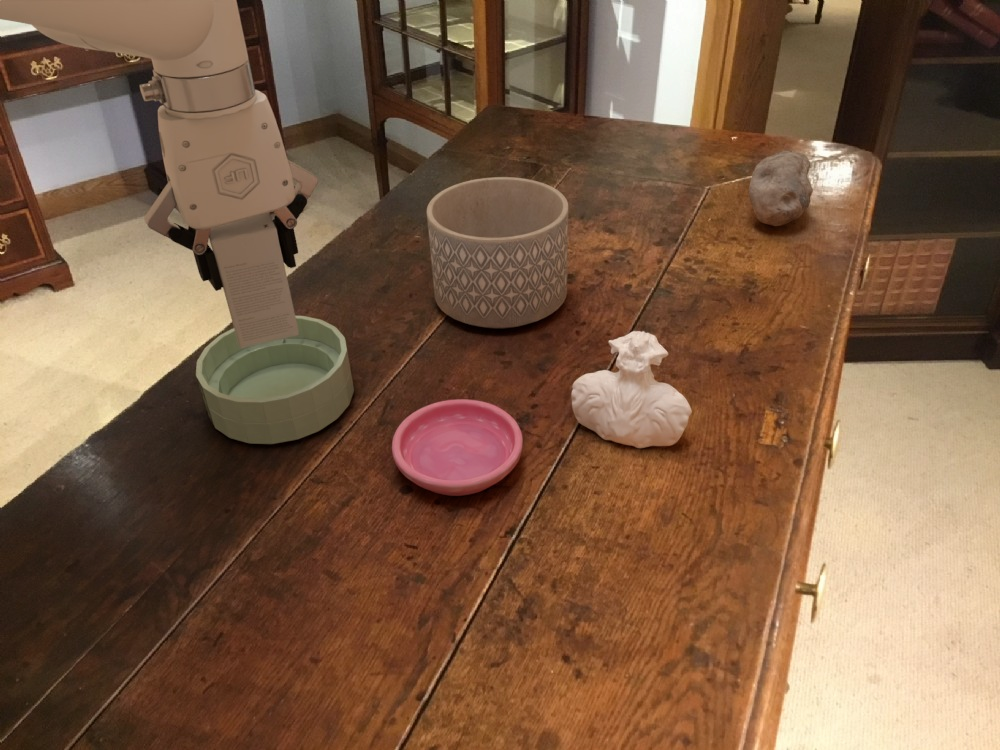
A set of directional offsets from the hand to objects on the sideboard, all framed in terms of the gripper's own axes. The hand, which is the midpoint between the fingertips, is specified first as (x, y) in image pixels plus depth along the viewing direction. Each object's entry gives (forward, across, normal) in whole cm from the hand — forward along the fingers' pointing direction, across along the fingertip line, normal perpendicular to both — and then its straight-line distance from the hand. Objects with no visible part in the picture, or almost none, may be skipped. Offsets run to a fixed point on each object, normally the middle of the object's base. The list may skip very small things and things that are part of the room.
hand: (251, 271), depth 82 cm
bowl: (+16, 0, 0) cm, 16 cm away
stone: (+16, +74, 0) cm, 76 cm away
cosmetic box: (+7, 0, 0) cm, 7 cm away
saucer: (+16, +11, -19) cm, 27 cm away
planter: (+16, +30, +4) cm, 34 cm away
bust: (+16, +28, -24) cm, 40 cm away
